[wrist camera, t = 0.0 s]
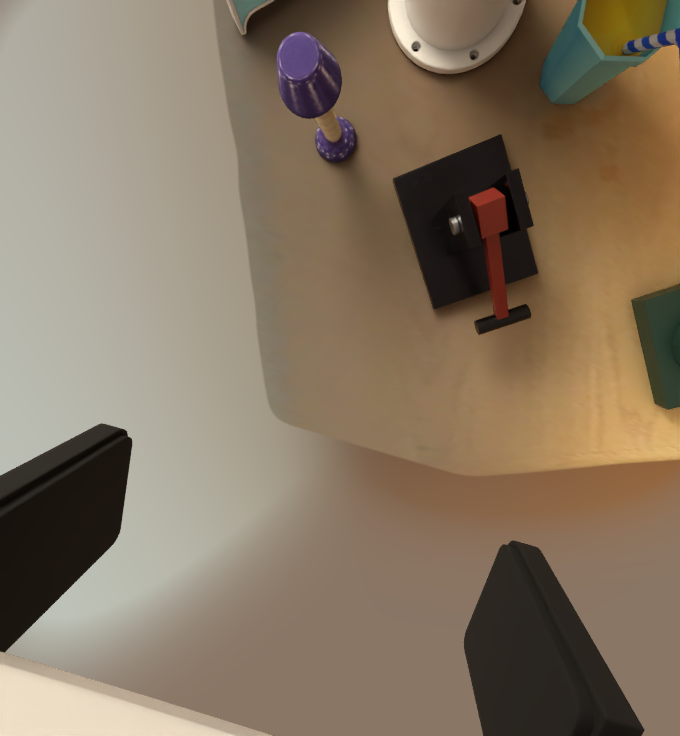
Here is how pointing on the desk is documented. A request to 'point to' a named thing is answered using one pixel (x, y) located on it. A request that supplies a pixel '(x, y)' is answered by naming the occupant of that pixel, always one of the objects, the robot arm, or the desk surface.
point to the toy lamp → (315, 92)
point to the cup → (606, 44)
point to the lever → (495, 259)
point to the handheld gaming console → (245, 11)
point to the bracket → (464, 221)
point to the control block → (661, 342)
